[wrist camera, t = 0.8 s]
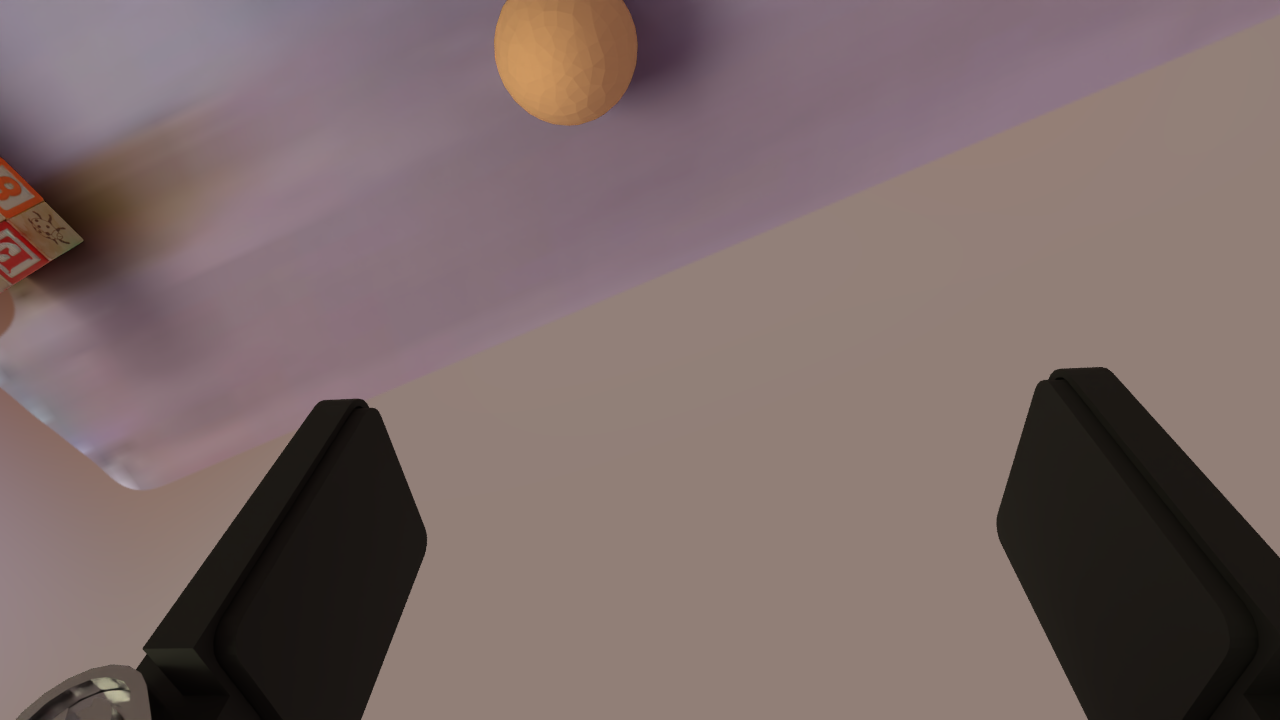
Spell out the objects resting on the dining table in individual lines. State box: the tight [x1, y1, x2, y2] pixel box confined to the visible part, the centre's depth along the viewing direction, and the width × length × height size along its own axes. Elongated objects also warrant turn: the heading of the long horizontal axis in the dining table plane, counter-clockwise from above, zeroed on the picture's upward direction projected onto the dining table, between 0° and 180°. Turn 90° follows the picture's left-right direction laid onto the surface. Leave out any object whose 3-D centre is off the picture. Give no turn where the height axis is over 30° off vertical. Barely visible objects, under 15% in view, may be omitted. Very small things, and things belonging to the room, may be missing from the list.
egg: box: [494, 0, 638, 126], centre depth 32 cm, size 7×7×9 cm
